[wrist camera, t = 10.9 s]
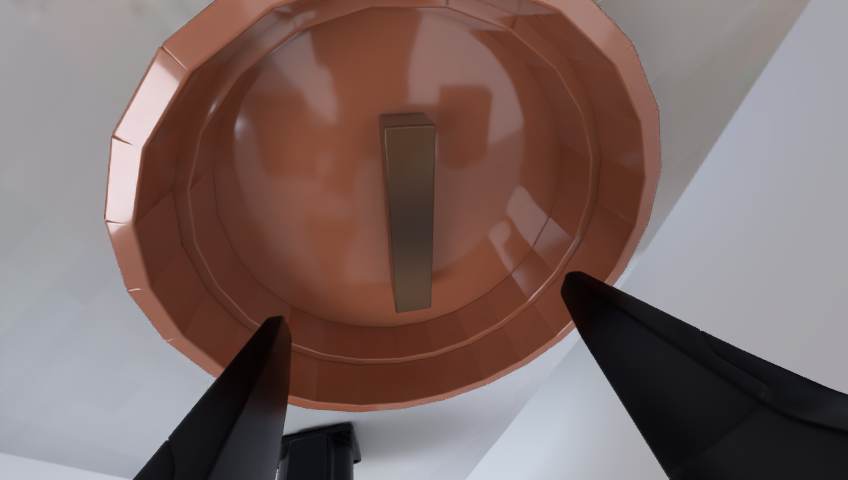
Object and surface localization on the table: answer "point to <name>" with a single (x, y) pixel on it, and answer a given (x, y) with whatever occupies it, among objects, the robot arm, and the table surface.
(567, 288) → the robot arm
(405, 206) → the brown long rectangular block
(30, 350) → the table surface
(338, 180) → the bowl
